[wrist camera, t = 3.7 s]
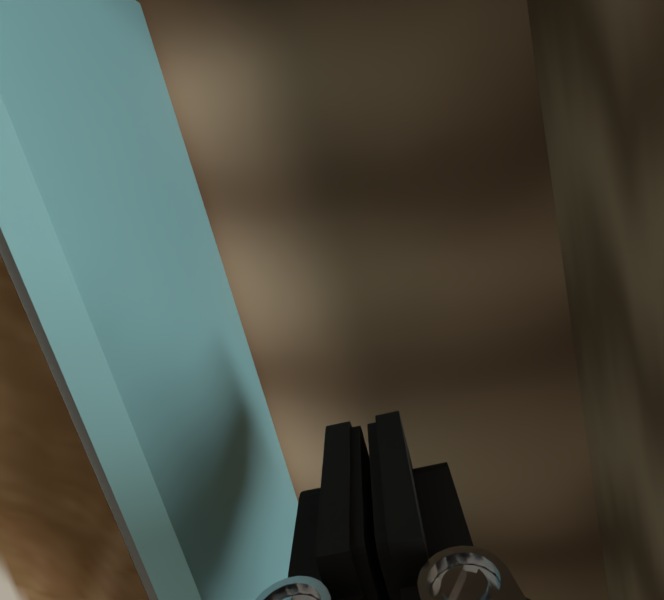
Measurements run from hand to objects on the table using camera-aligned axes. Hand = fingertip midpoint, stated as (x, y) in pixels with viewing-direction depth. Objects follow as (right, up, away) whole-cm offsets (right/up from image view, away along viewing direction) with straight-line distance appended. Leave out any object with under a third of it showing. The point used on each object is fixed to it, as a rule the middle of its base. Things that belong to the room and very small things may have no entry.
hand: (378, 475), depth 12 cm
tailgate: (-4, +1, +6) cm, 7 cm away
